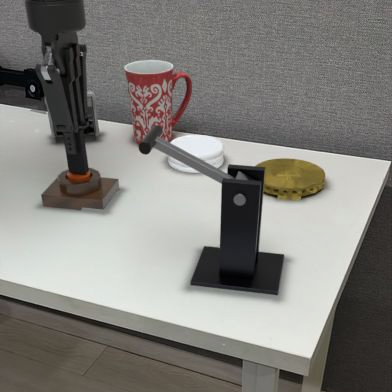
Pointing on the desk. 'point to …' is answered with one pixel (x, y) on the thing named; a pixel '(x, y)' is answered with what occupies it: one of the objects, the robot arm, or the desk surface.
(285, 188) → the compass
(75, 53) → the robot arm
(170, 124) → the mug
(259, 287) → the stand
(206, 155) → the coaster
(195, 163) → the switch lever
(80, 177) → the button
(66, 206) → the button block
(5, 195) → the desk surface
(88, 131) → the electrical switch
